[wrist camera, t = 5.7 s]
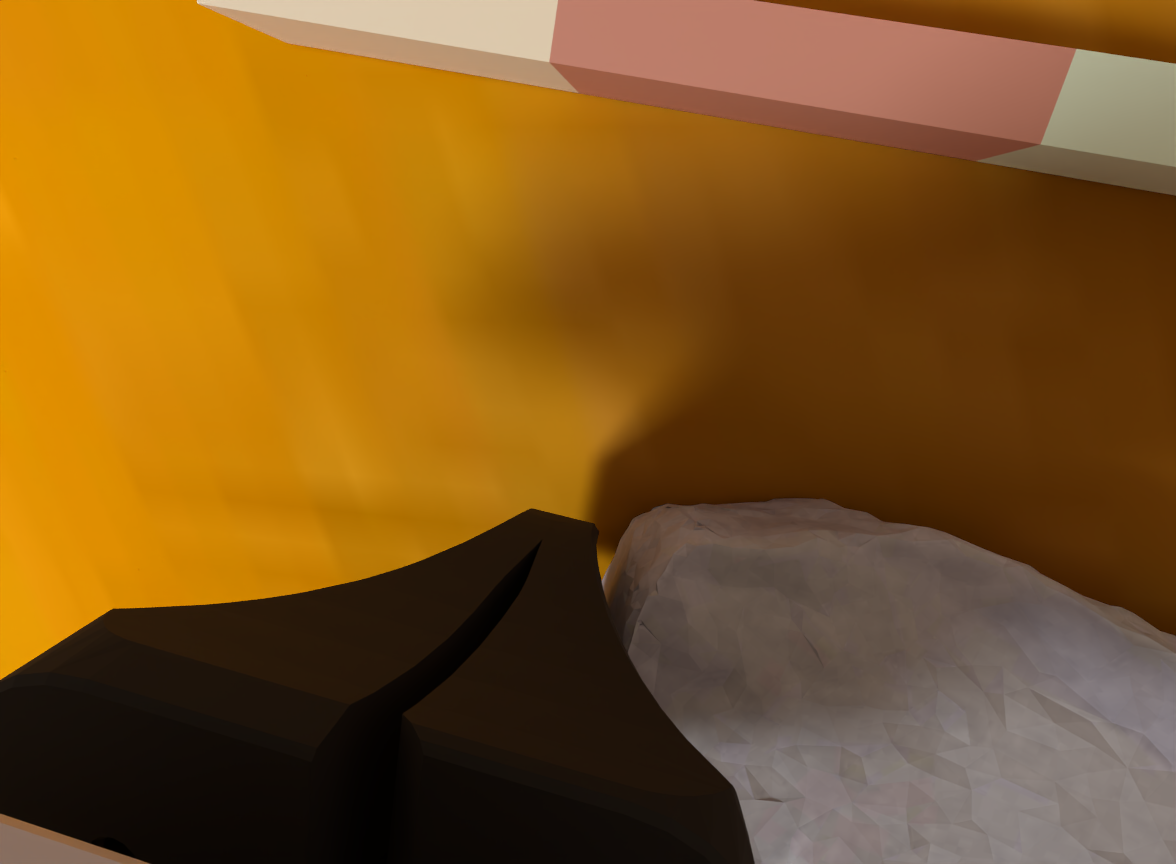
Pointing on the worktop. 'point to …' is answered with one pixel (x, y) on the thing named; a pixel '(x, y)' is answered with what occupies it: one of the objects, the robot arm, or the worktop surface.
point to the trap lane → (783, 73)
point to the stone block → (899, 689)
